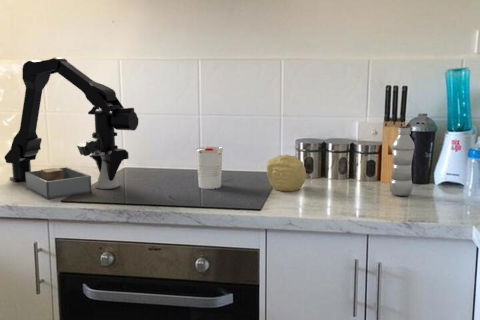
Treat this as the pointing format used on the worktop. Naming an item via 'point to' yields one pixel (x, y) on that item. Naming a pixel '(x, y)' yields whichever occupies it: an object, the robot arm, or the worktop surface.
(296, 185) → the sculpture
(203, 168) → the white bucket
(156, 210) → the worktop surface
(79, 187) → the tote
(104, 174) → the flask
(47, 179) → the walnut cube
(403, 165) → the plastic bottle
